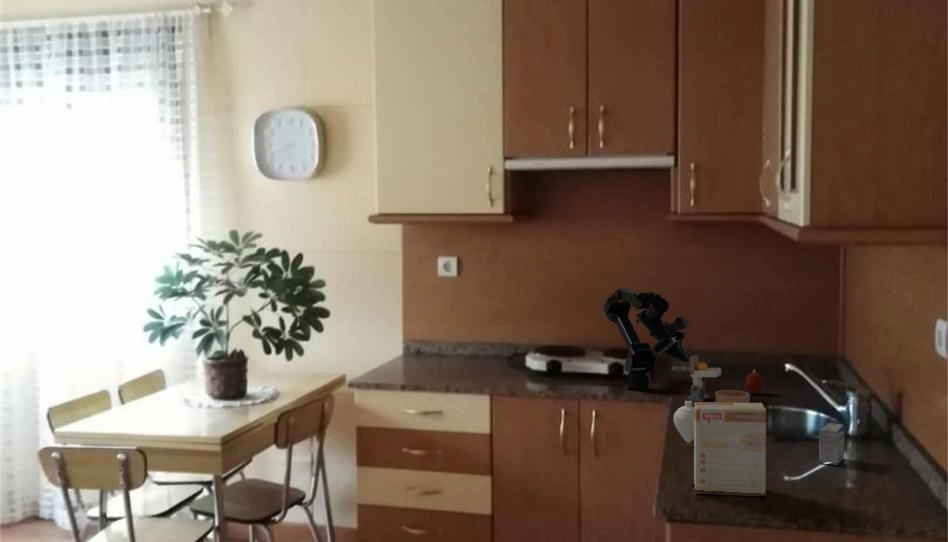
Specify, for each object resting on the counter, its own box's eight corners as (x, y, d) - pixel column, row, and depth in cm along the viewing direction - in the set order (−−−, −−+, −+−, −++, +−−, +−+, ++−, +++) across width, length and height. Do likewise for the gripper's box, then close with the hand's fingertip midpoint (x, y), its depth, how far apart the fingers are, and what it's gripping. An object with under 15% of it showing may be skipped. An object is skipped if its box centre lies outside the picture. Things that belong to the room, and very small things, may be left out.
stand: (686, 400, 297) (686, 385, 297) (693, 396, 304) (694, 380, 304) (702, 402, 295) (702, 386, 294) (709, 397, 302) (709, 382, 301)
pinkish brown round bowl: (711, 404, 292) (711, 394, 292) (720, 398, 301) (720, 388, 301) (744, 407, 287) (744, 398, 287) (752, 401, 296) (752, 391, 296)
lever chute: (691, 389, 297) (689, 357, 297) (697, 386, 302) (694, 354, 302) (717, 390, 293) (714, 357, 293) (722, 386, 298) (719, 354, 298)
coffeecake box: (761, 487, 209) (762, 402, 208) (766, 498, 202) (767, 409, 201) (693, 485, 212) (693, 400, 210) (695, 495, 205) (696, 407, 203)
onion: (764, 396, 303) (764, 371, 302) (745, 395, 304) (746, 371, 303) (762, 392, 309) (762, 368, 308) (744, 391, 310) (744, 368, 309)
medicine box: (837, 466, 225) (838, 431, 224) (818, 464, 227) (819, 429, 226) (844, 458, 231) (845, 424, 231) (825, 456, 234) (826, 422, 233)
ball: (697, 375, 297) (693, 364, 298) (700, 373, 300) (696, 362, 301) (707, 372, 295) (703, 361, 296) (710, 370, 298) (706, 360, 299)
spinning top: (667, 444, 246) (667, 399, 245) (691, 441, 249) (691, 396, 248) (684, 451, 239) (685, 405, 238) (709, 448, 242) (709, 402, 241)
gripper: (663, 312, 293) (697, 349, 289) (681, 305, 309) (714, 341, 305) (639, 335, 298) (672, 372, 293) (658, 327, 314) (690, 363, 309)
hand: (688, 361), depth 300 cm, fingers closed
